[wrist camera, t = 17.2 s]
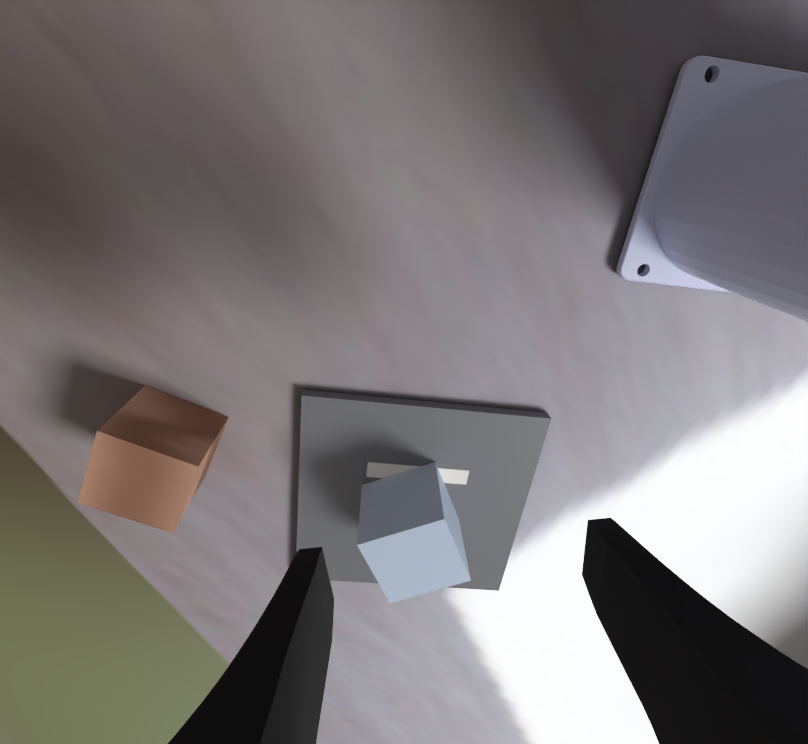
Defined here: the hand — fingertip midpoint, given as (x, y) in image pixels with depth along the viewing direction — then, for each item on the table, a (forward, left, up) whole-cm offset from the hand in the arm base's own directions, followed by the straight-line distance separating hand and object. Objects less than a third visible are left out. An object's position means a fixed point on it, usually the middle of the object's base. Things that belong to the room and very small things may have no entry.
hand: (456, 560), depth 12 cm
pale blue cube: (0, +7, -10) cm, 12 cm away
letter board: (0, +7, -10) cm, 12 cm away
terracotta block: (+12, +4, -11) cm, 16 cm away
